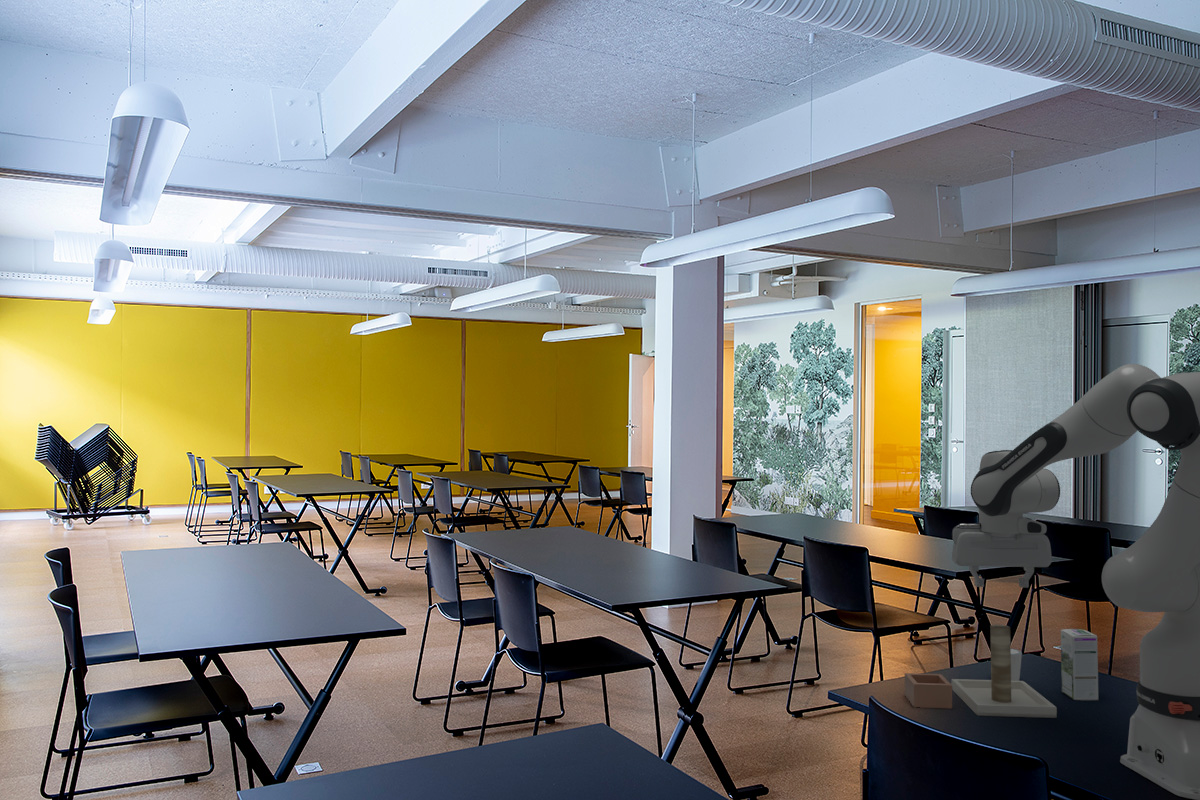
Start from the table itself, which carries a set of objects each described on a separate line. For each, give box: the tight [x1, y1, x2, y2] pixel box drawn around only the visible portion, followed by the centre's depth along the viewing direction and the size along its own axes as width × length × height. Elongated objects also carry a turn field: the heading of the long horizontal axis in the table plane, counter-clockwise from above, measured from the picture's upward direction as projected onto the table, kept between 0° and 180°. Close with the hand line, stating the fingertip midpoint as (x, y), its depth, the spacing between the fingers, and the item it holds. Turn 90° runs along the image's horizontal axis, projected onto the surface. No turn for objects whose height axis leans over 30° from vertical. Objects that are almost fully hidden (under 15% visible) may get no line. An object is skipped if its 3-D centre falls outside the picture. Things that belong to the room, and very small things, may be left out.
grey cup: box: [1011, 648, 1023, 681], centre depth 213 cm, size 7×7×7 cm
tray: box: [951, 678, 1058, 719], centre depth 196 cm, size 18×16×2 cm
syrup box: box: [1060, 628, 1099, 701], centre depth 201 cm, size 6×6×14 cm
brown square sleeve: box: [904, 672, 953, 710], centre depth 197 cm, size 8×8×5 cm
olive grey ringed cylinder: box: [989, 624, 1011, 703], centre depth 196 cm, size 4×4×16 cm
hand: (1001, 586), depth 196 cm, fingers open, 8 cm apart
